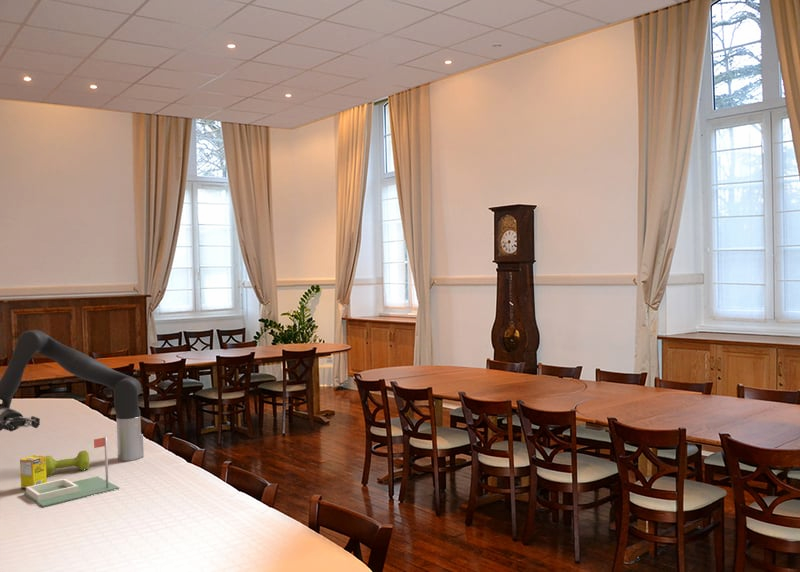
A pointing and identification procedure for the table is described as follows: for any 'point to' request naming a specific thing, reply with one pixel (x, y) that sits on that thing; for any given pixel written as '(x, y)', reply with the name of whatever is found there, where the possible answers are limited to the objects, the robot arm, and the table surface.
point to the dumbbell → (67, 462)
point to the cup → (71, 486)
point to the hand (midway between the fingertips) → (24, 426)
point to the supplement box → (33, 471)
